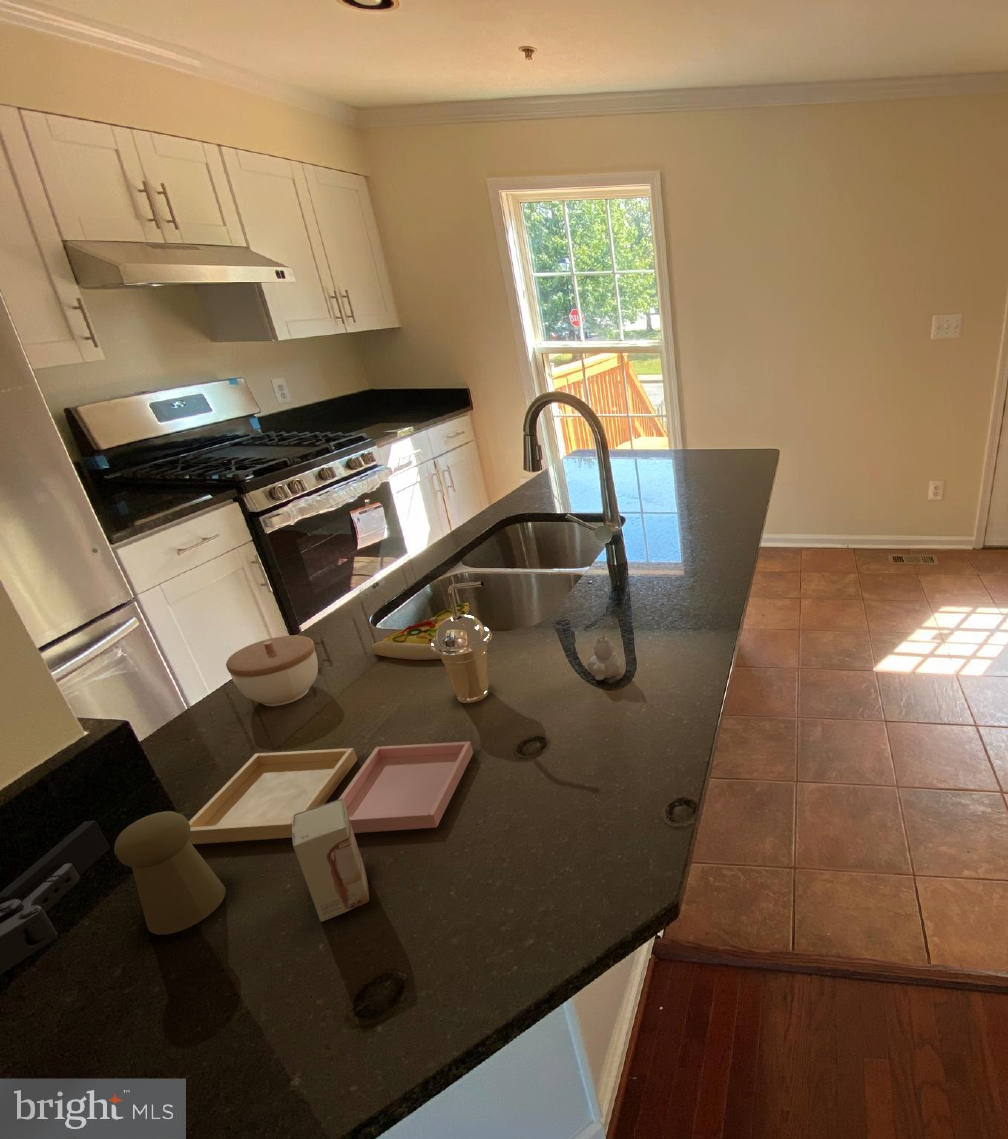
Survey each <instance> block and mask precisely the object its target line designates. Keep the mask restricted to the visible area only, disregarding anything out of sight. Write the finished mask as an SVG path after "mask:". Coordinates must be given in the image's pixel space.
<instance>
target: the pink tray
mask: <svg viewBox="0 0 1008 1139" xmlns="http://www.w3.org/2000/svg"><path fill="white" fill-rule="evenodd" d="M473 754H474V751H473V745H472V742H471V741H455V742H454V741H453V742H439V743H438V742H437V743H420V744H419V743H418V744H401V745H385V746H382V745H381V746H376V747H375V748H374V749H373V750H372V752H371V753H370V755H369V756H368V758H367V759H366V760H365V761H364V763H363V765H362V766H361V767H360V769H359V770H358V771H357V773H356V774H355V775H354V777H353V778H352V780H351V781H350V782H349V784H348V785H347V787H346V788H345V790H344V791H343V792H342V794H341V795H340V796H339V798H338V799H337V800H339V799H343V800H344V804H345V807H346V810H347V813H348V817H349V820H350V823H351V826H352V829H353V833H354V834H360V833H361V834H362V833H377V832H390V831H402V830H403V831H405V830H406V831H407V830H419V829H420V830H421V829H431V828H432V829H433V828H435V829H436V828H438V826H439V824H440V822H441V819H442V818H443V815H444V813H445V812H446V810H447V808H448V805H449V804H450V802H451V800H452V797H453V795H454V793H455V791H456V789H457V787H458V786H459V784H460V781H461V779H462V777H463V775H464V773H465V771H466V769H467V767H468V765H469V762H470V761H471V758H472V757H473Z"/></svg>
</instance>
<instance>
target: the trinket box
mask: <svg viewBox="0 0 1008 1139" xmlns="http://www.w3.org/2000/svg"><path fill="white" fill-rule="evenodd" d="M315 649H316V646H315V642H314V640H313V639H311V638H310V637H308V636H305V635H295V634H294V635H282V636H276V637H270V638H267V639H263V640H259V641H257V642H254V643H251V644H248V645H246V646H244V647H242V648H240V649H239V650H237V651H235V652H234V653H233V654H231V655H230V656H229V657H228V659H227V660H226V663H225V666H226V670H227V671H228V673H229V675H230V677H231V679H232V682H233V683H234V685H235V686H236V688H237V689H238V690H239V692H240V693H241V694H242V695H243V696H244V697H246V698H247V699H249V700H251V701H253V702H256V703H259V704H262V705H263V706H265V707H278V706H279V707H280V706H284V705H287V704H290V703H293V702H296V701H297V700H299V699H301V698H303V697H304V696H305V695H307V694H308V693H309V690H310V688H311V687H312V686H313V685H314V683H315V681H316V678H317V676H318V671H319V663H318V656H317V652H316V650H315Z"/></svg>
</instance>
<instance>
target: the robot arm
mask: <svg viewBox="0 0 1008 1139" xmlns="http://www.w3.org/2000/svg"><path fill="white" fill-rule="evenodd" d="M110 849H111V846H110V844H109V843H108V840H107V839H106V837H105V835H104V833H103V831H102V829H101V827H100V825H99V824H98V822H97V820H87V821H83V822H82V823H81V824H80V825H78V826H77V827H76V828H75V829H74V830H73V831H71V832H70V833H69V834H68V835H67V836H66V837H64V838H63V839H61V841H60V842H58V843H57V844H56V845H55V846H53V847H52V849H50V850H49V851H47V853H45V854H44V855H43V856H42V857H40V858H39V859H38V860H37V861H36V862H34V863H33V864H32V865H31V866H30V867H29V868H27V869H26V870H25V871H24V872H22V873H21V874H20V875H19V876H18V877H17V878H16V879H15V880H13V881H12V882H11V883H10V884H8V885H7V886H6V887H5V888H3V889H2V891H0V976H1V975H2V974H4V973H5V972H7V971H9V970H10V969H12V968H13V967H14V966H16V965H18V964H19V963H21V962H22V961H25V960H26V959H27V958H28V957H30V956H32V955H33V954H34V953H36V952H37V951H39V950H41V949H42V948H44V947H45V946H47V945H49V944H50V943H52V942H53V940H55V939H56V938H57V937H58V932H57V929H56V928H55V926H54V924H53V923H52V921H51V920H50V918H49V917H48V915H47V912H48V911H49V910H50V909H51V908H52V907H53V906H55V904H56V903H58V902H59V901H60V900H61V899H62V898H63V896H65V895H66V894H67V893H68V892H69V891H71V889H73V888H74V887H75V886H76V885H77V884H78V882H79V881H80V879H81V875H83V874H84V873H85V872H86V871H87V870H88V869H90V867H91V866H92V865H93V864H94V863H96V861H98V860H99V859H100V858H101V857H102V856H103V855H104V854H105V853H106V852H108V851H109V850H110Z"/></svg>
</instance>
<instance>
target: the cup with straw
mask: <svg viewBox="0 0 1008 1139" xmlns="http://www.w3.org/2000/svg"><path fill="white" fill-rule="evenodd" d="M484 585H485V584H484V581H482V580H481V581H473V582H472V581H471V582H463V583H461V582H460V583H452V584H451V585H449V586H448V588H447V593H448V597H449V602H450V608H452V612H453V616H451V617H448V618H447V619H445V620H444V621H443V622H442V623H441V624H440V625H439V626H438V629H437V631H436V634H435V636H434V637H433V638H432V640H431V649H432V651H434V652H435V653H437V654H439V656H440V658H441V659H440V660H441V662H442V663H443V664H444V667H445V670H446V672H447V675H448V678H449V681H450V683H451V686H452V688H453V691H454V693H455V695H456V699H457V700H458V702H460V703H462V704H472V703H477V702H479V701H482V700H483V699H485V698H486V697H487V696H488V695H489V689H488V688H489V674H488V648H489V643H490V642H491V641H492V638H493V633H492V632H491V629H490V628H489V627H488V626H486V625H484V624H483V623H482V621H481V620H480V619H479V618H477V617H476V616H474V615H471V614H468V615H467V614H458V611H457V606H456V604H457V602H456V597H455V590H458V589H466V588H467V589H468V588H478V587H484Z"/></svg>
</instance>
